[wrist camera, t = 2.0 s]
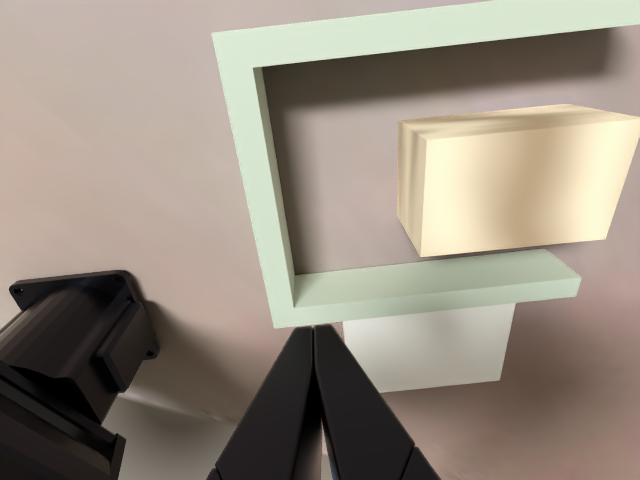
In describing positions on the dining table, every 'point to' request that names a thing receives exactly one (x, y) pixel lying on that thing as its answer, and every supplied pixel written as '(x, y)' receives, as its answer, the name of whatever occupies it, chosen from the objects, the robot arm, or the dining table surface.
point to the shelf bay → (400, 279)
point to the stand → (431, 347)
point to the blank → (512, 177)
